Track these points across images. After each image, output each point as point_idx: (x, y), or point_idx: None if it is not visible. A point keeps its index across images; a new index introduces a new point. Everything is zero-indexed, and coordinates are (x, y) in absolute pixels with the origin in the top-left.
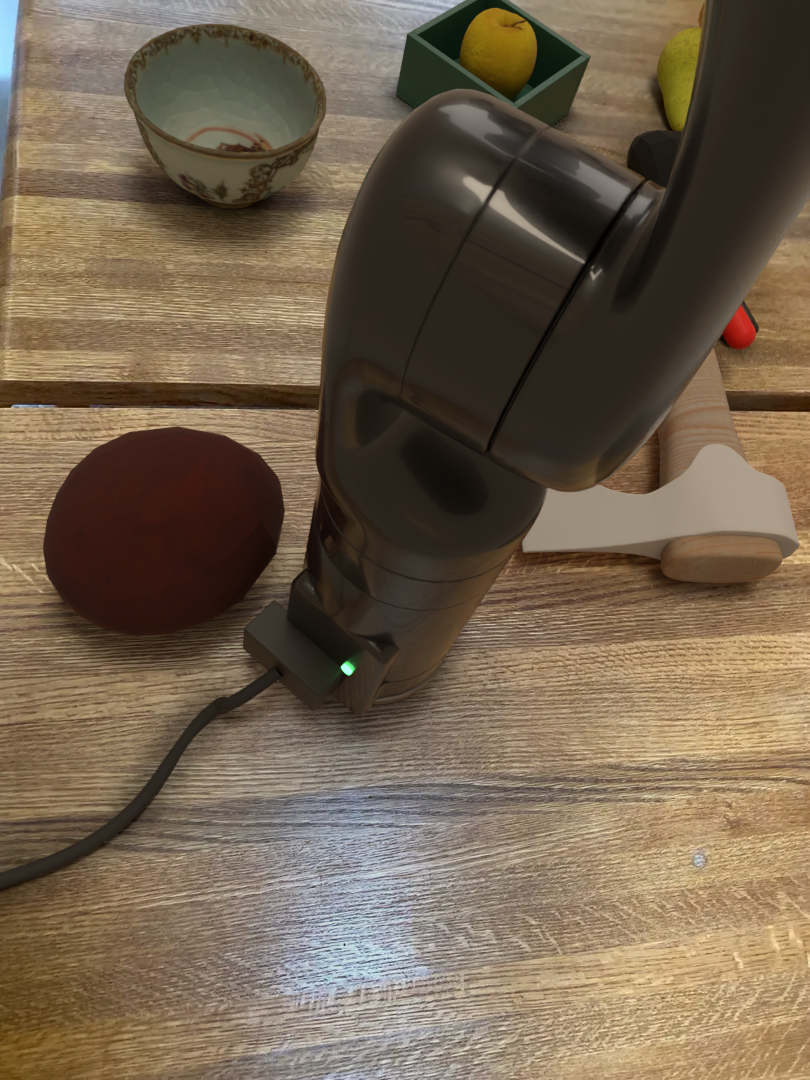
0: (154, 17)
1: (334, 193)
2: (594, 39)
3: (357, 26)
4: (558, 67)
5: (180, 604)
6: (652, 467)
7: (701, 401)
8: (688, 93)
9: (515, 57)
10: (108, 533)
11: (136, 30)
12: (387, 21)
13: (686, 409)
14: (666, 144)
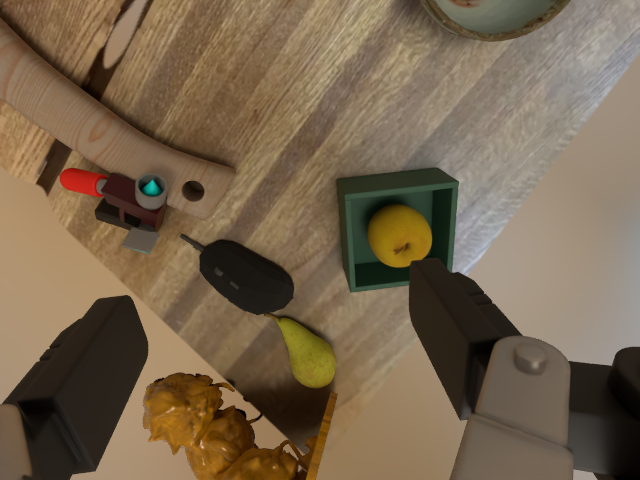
0: (626, 53)
1: (395, 38)
2: (382, 336)
3: (505, 196)
4: (366, 275)
5: None
6: (33, 43)
7: (17, 81)
8: (294, 340)
9: (380, 231)
10: None
11: (628, 27)
12: (493, 220)
13: (18, 65)
14: (261, 285)
